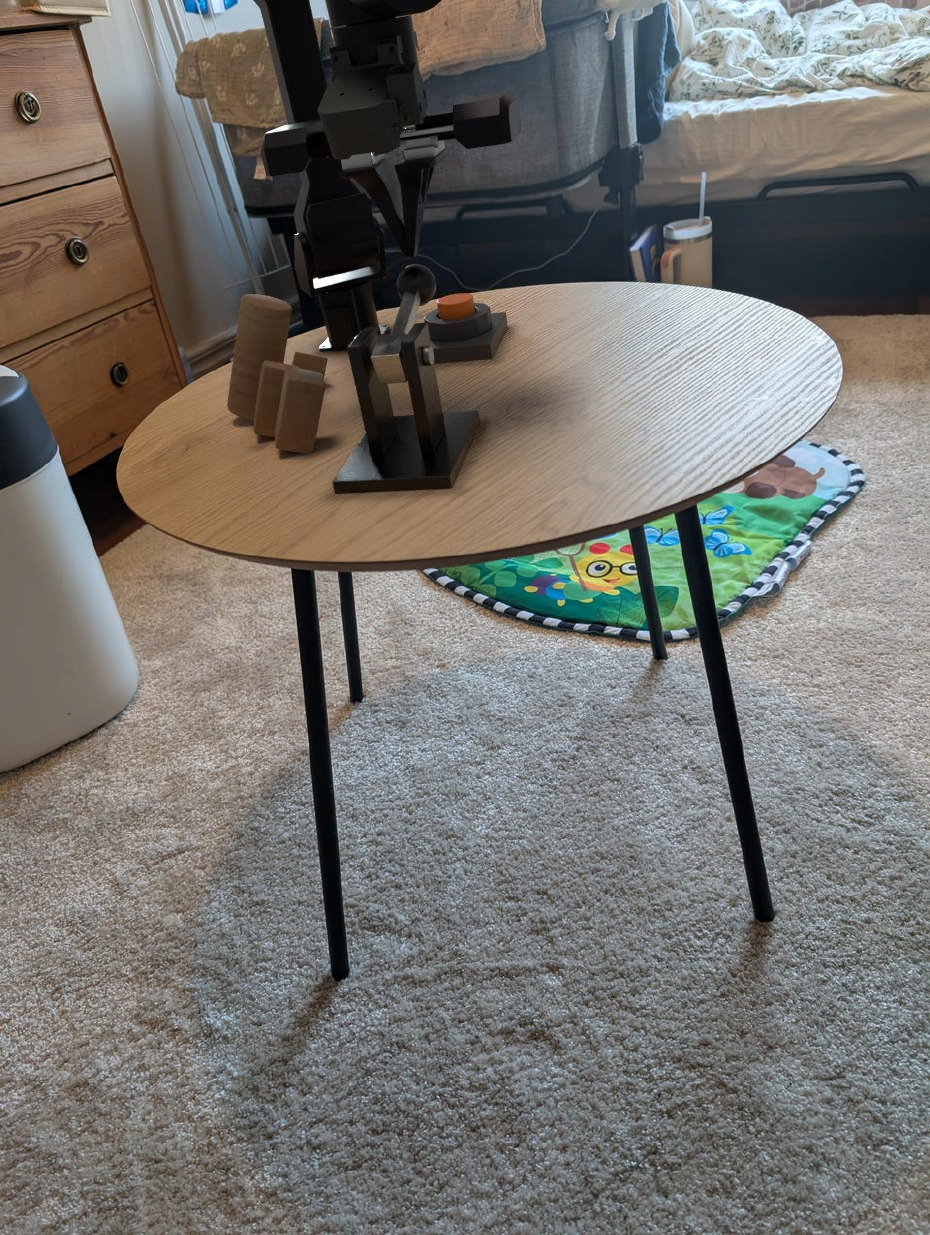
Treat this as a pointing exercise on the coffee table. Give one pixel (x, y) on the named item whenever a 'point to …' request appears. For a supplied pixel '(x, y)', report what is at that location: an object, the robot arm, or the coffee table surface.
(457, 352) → the switch block
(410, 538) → the coffee table surface
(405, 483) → the bracket
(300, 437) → the wooden block set
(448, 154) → the robot arm
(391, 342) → the lever
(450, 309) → the button
